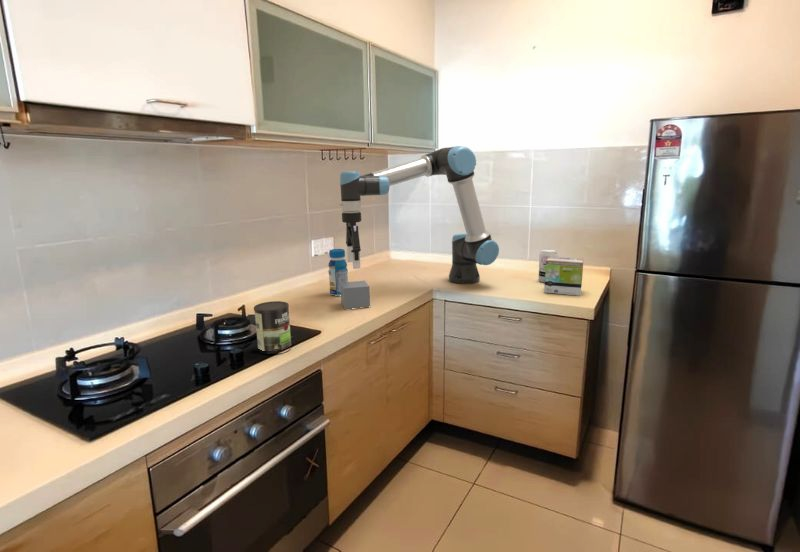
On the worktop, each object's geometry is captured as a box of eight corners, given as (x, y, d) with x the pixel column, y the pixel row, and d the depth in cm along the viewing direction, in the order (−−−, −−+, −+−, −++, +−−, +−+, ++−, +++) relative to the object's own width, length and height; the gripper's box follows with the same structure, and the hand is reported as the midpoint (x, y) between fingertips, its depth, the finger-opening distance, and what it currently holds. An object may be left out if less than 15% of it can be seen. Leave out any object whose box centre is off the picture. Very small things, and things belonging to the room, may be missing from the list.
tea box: (543, 293, 200) (545, 260, 197) (545, 288, 209) (547, 255, 206) (581, 296, 194) (583, 261, 191) (581, 290, 204) (583, 257, 200)
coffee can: (298, 345, 146) (295, 302, 143) (277, 357, 137) (273, 312, 134) (273, 341, 151) (269, 299, 148) (250, 352, 142) (246, 308, 138)
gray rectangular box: (341, 303, 192) (340, 282, 190) (365, 300, 195) (364, 280, 193) (344, 310, 183) (343, 288, 181) (370, 307, 185) (369, 286, 183)
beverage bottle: (345, 296, 202) (343, 251, 197) (327, 296, 203) (324, 251, 199) (351, 291, 210) (349, 248, 205) (333, 291, 211) (330, 248, 207)
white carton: (554, 279, 224) (555, 249, 221) (558, 283, 216) (559, 252, 213) (537, 279, 225) (538, 249, 221) (540, 283, 217) (541, 252, 213)
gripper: (337, 209, 191) (340, 260, 196) (346, 215, 167) (349, 272, 172) (355, 209, 193) (357, 259, 198) (366, 214, 169) (369, 270, 174)
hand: (353, 265), depth 185 cm, fingers open, 13 cm apart
